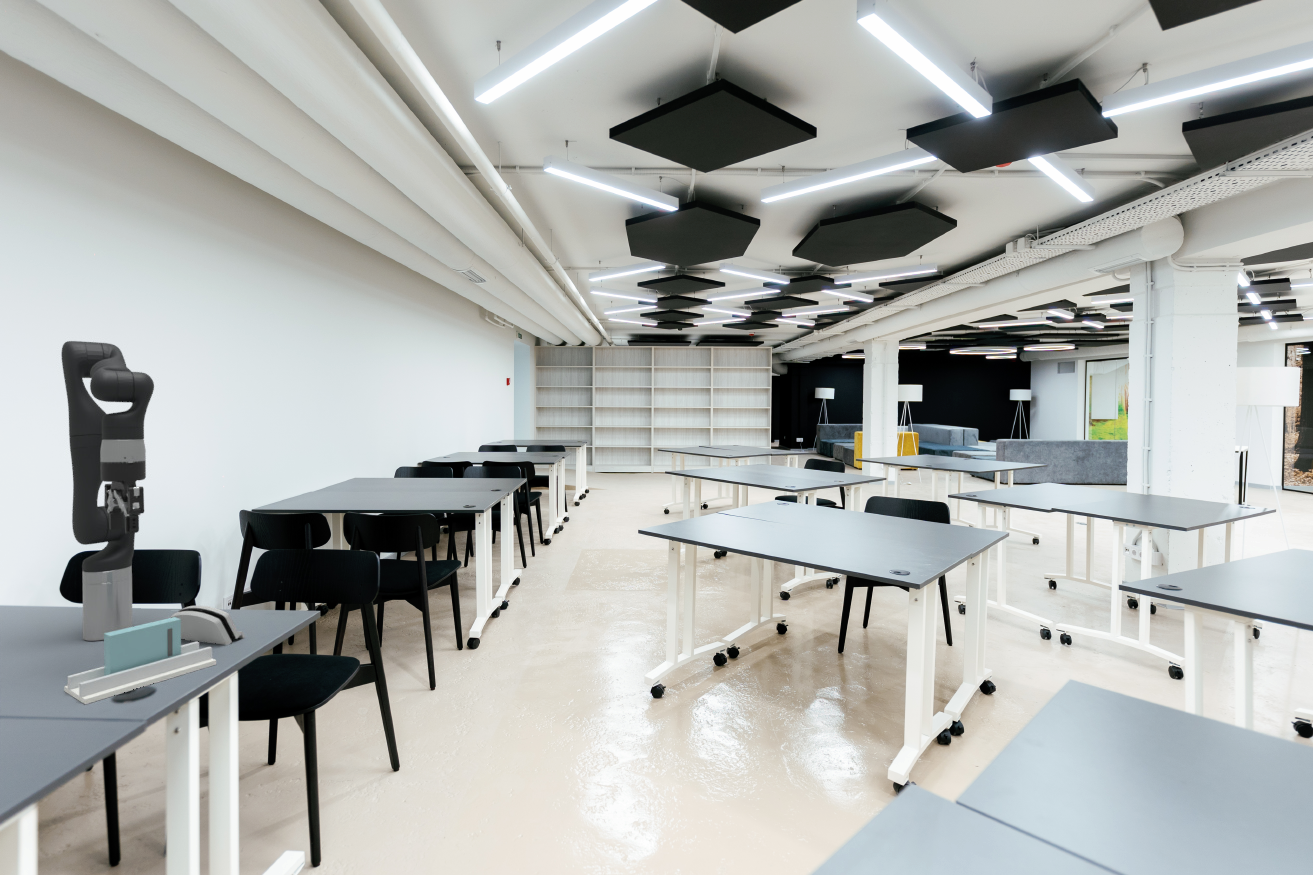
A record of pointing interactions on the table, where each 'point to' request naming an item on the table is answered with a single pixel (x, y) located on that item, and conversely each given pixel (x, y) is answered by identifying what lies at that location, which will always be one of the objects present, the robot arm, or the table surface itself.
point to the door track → (137, 675)
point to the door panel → (141, 645)
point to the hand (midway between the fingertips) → (124, 531)
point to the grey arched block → (207, 625)
